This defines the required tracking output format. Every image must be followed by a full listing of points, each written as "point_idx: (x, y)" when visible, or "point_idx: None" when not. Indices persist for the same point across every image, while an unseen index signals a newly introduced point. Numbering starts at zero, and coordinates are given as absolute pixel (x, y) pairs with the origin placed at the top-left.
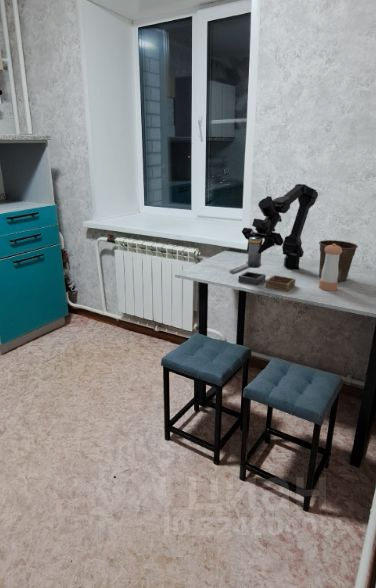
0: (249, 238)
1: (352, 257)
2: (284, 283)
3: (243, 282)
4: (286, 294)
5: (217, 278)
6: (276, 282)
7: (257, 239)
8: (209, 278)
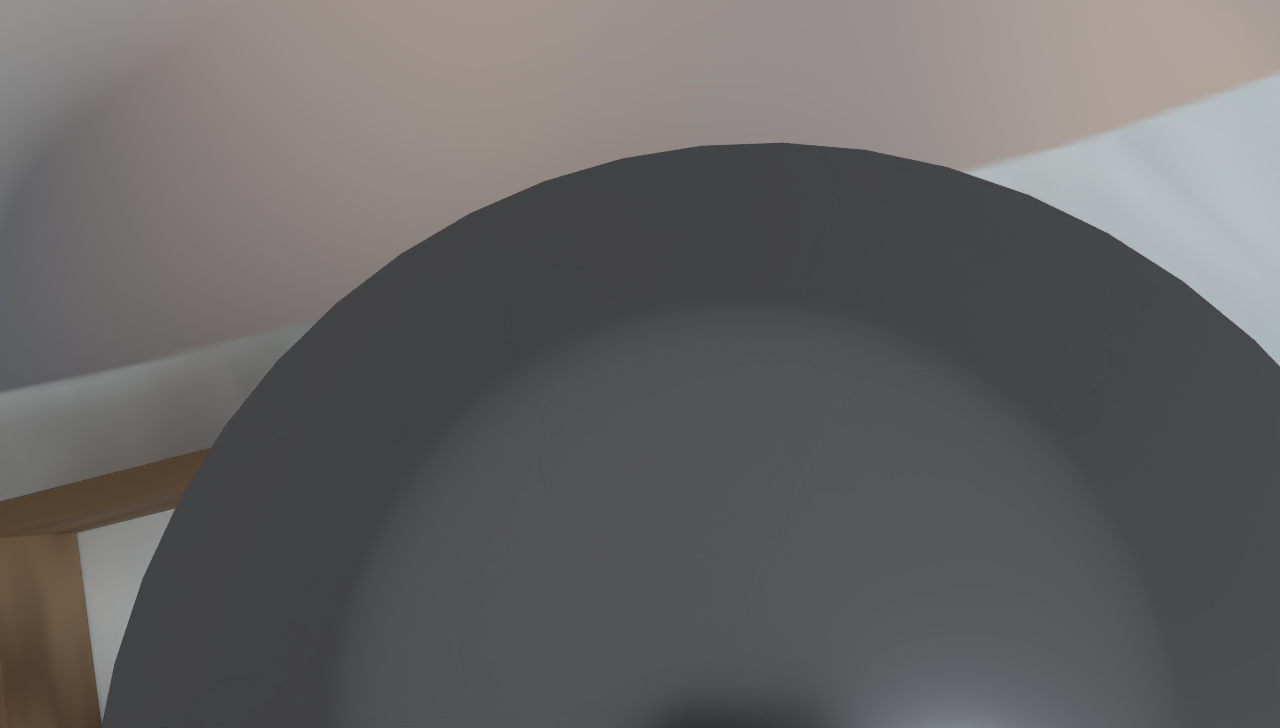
0: (1199, 340)
1: None
2: (24, 525)
3: None
4: (2, 397)
5: (1173, 203)
6: (146, 465)
7: (285, 374)
8: (1253, 105)
